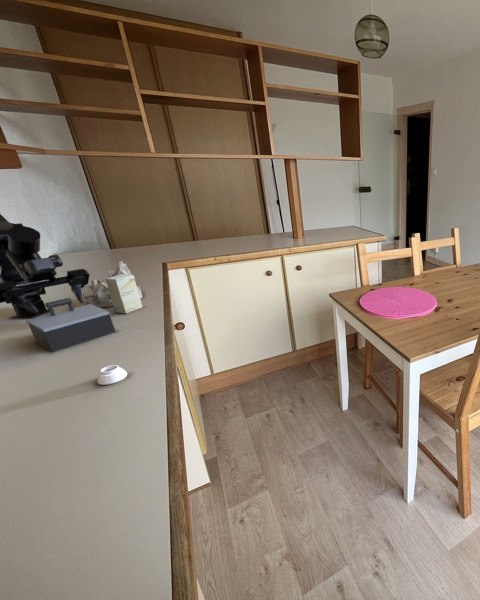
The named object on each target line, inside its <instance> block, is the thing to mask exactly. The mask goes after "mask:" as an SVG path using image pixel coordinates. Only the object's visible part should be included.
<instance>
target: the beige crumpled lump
mask: <svg viewBox="0 0 480 600" xmlns="http://www.w3.org/2000/svg"><path fill="white" fill-rule="evenodd" d="M129 269H130V268H129V267H128V266H127V263H124V262H123V261H118V266H117V268H116V270H109V271H107V274H108V278H110V277H114V276H118V275H122V274H130V275H132V274H131V271H130V270H129ZM136 286H137V284H136ZM137 289H138V292H139V296H140V299H142V298H143V293H142V290H141V287H140V286H137ZM81 291H82V297H83V299H85V300H87V302H86V305H88V304H91V305H94V306H96V307H99V308H101V309H102V308H111V307H114V304H113V301H112V298H111V295H110V292H109V289H108V286H107V283H106V280H105V279H102V278H98V279H94V280H91V285H84V287H83V288H81Z"/></svg>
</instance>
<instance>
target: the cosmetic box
mask: <svg viewBox="0 0 480 600" xmlns="http://www.w3.org/2000/svg"><path fill="white" fill-rule="evenodd" d="M104 280H106V283H107V286H108V289H109V292H110V295H111V298H112V301H113V304H114V306H113V307H114V310H115V313H118V314H129V313H132V312H134V311H137V310H140V309H142V308H144V306H143V304H142V300H141V299H142V298H140V296H139V292H138V289H137V287H138V286H136V285H137V283H136V279H135V276H134V274H131V275H130V274H122V275H118V276H114V277H110V278H109V277H107V278H105V279H104Z"/></svg>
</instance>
